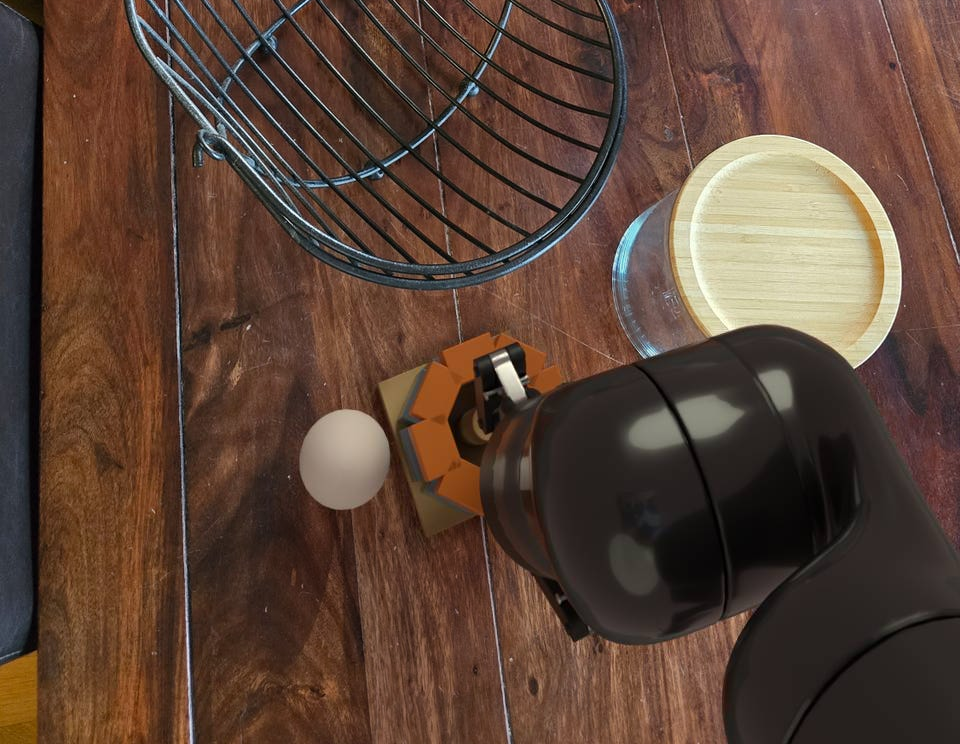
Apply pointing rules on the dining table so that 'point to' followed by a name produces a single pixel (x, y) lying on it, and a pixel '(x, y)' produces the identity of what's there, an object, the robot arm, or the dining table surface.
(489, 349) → the orange ring
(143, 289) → the dining table surface
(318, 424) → the egg
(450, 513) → the ring stack
